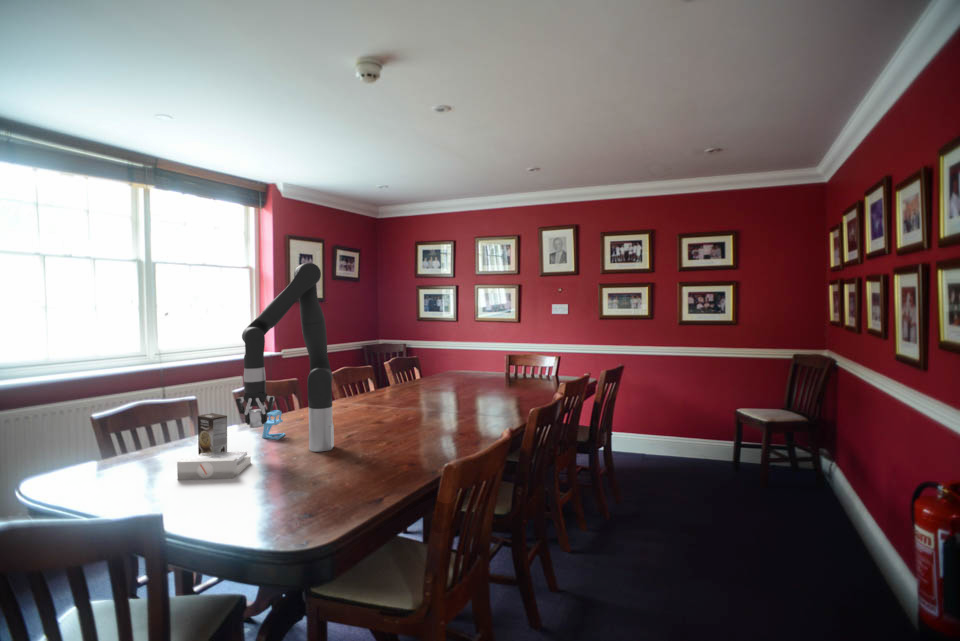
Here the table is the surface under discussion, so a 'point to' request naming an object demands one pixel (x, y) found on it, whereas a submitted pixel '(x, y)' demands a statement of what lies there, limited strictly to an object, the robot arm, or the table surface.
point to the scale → (210, 468)
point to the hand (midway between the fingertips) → (256, 423)
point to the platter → (222, 455)
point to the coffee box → (212, 433)
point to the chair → (271, 423)
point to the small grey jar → (255, 418)
